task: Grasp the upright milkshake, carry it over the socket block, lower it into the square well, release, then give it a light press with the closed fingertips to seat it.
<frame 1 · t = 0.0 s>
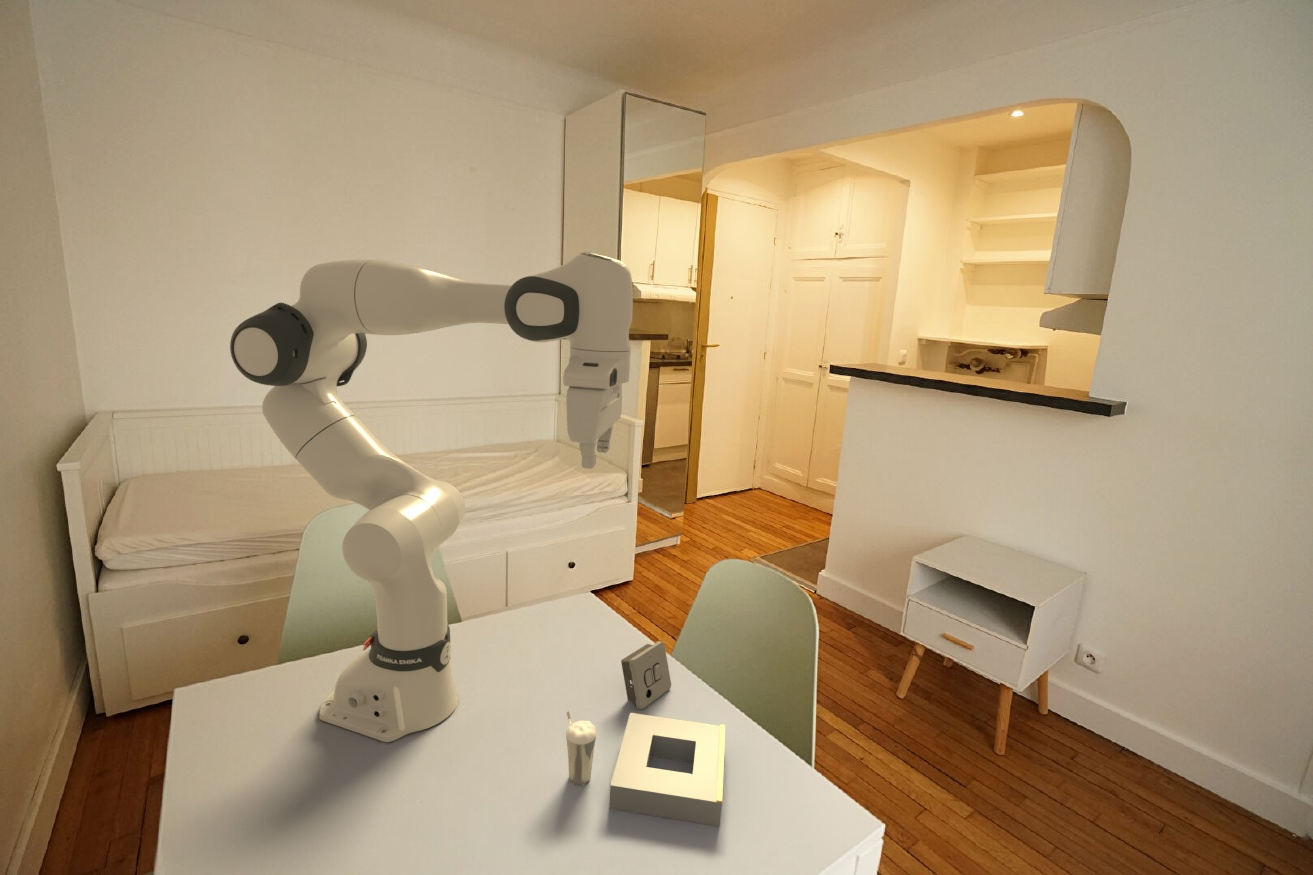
hand: (596, 459, 93), 48 cm above the table, fingers open, 8 cm apart
socket block: (670, 775, 95), on the table
electrical switch: (644, 695, 115), on the table
milkshake: (577, 777, 94), on the table
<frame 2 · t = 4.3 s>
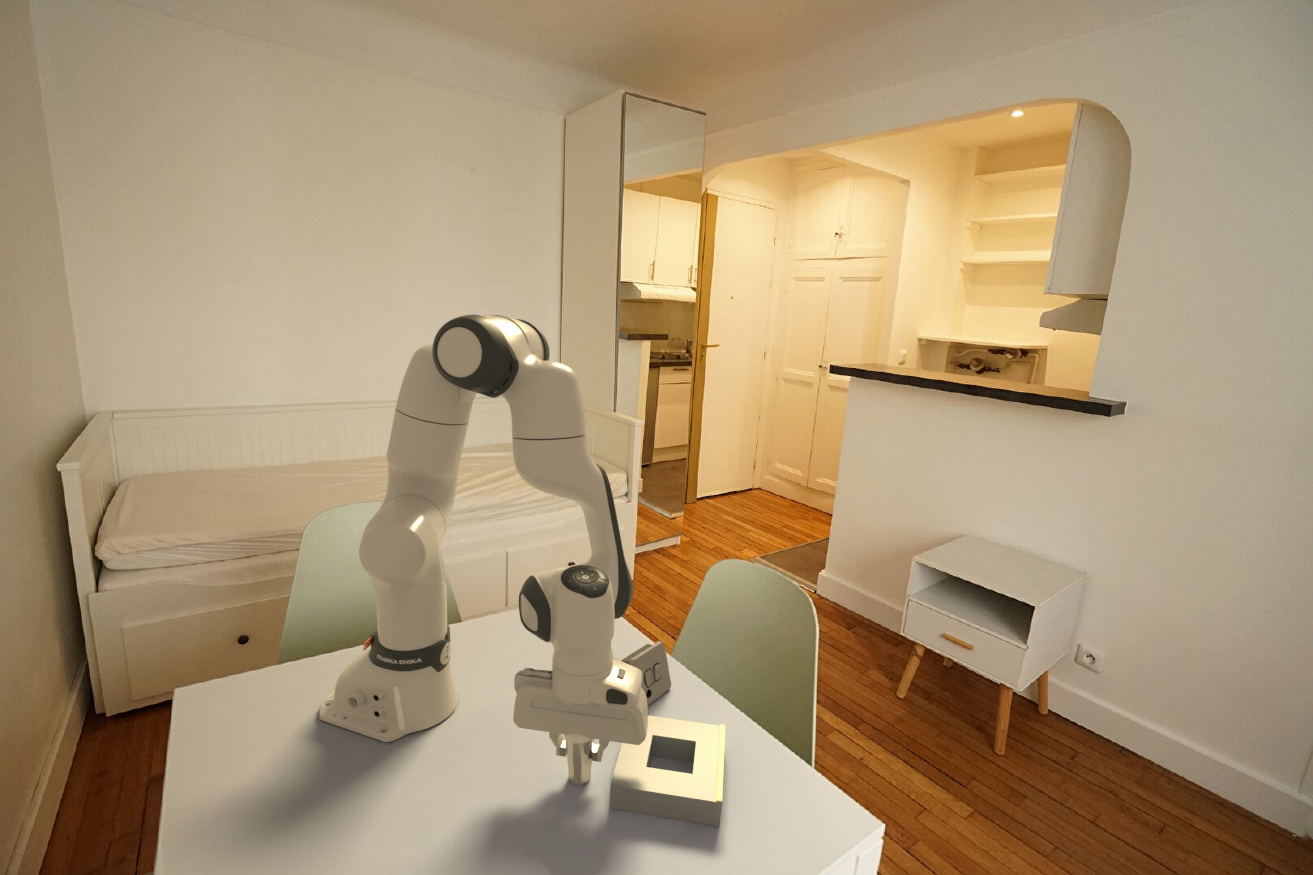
hand: (579, 755, 93), 4 cm above the table, fingers closed on milkshake, 4 cm apart
milkshake: (577, 777, 94), on the table, touching gripper
everything else where it was.
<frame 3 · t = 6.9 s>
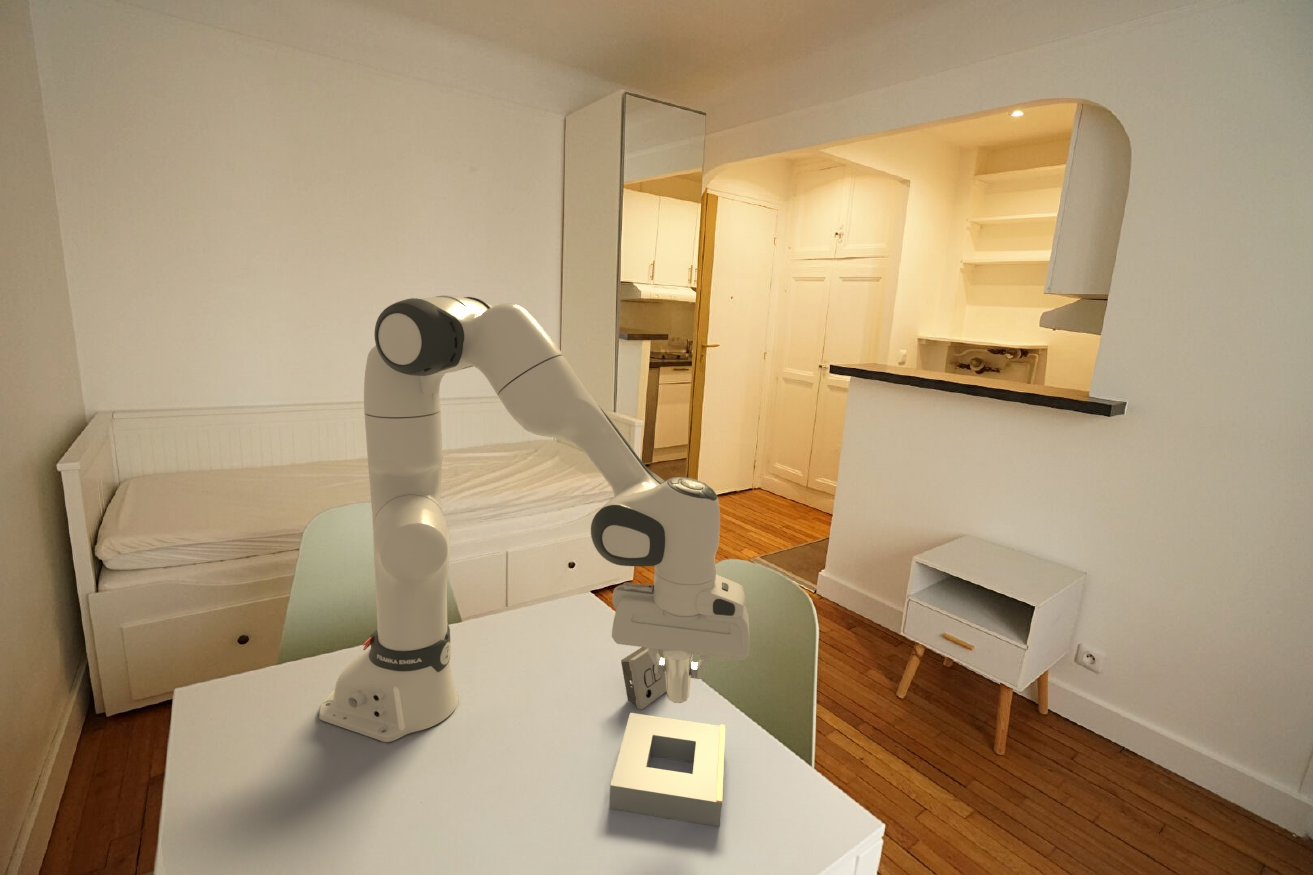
hand: (677, 674, 92), 18 cm above the table, fingers closed on milkshake, 4 cm apart
milkshake: (675, 696, 93), point 14 cm above the table, touching gripper
everything else where it was.
when the fingers open (6 cm above the table, at t = 9.7 s): milkshake drops 2 cm, resting in socket block.
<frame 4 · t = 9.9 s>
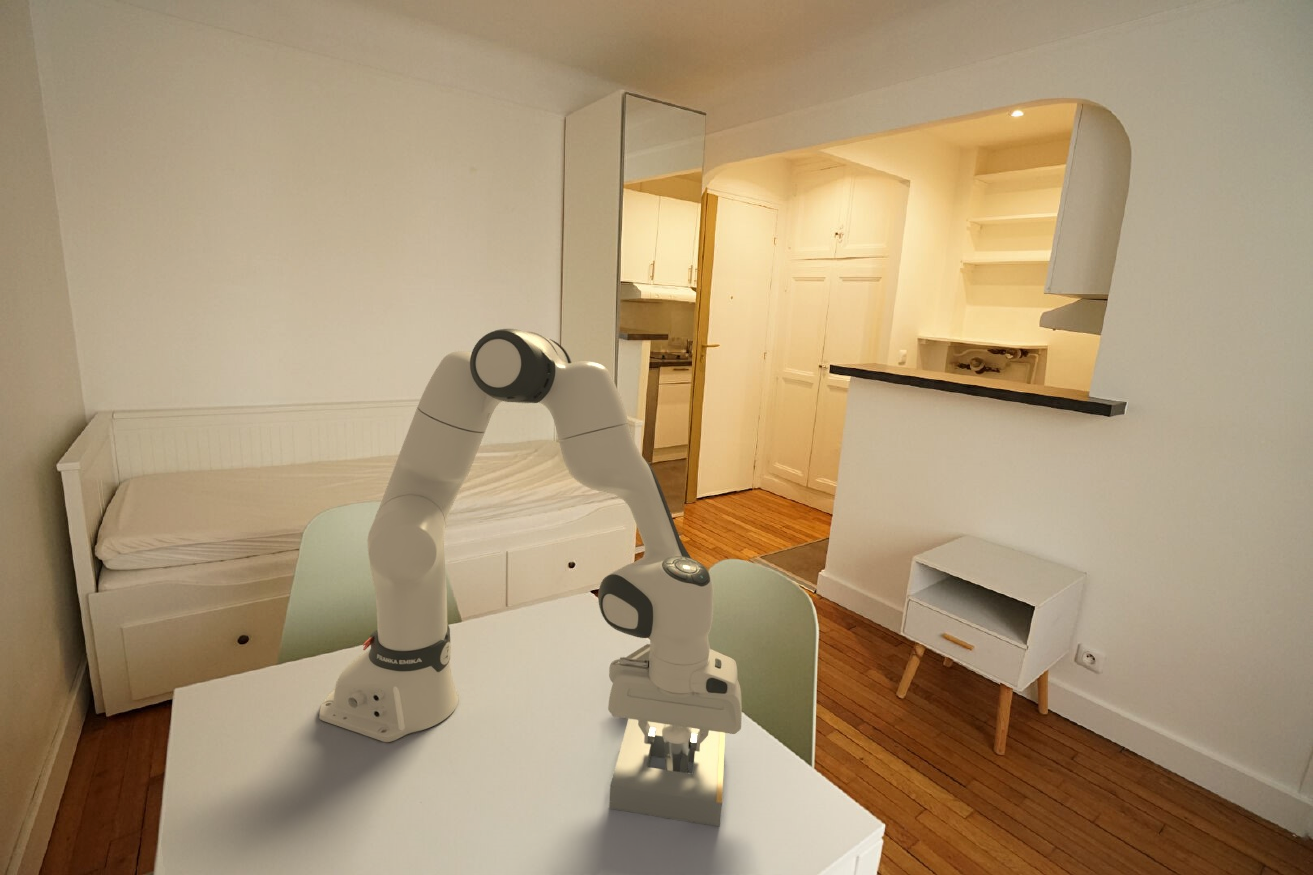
hand: (672, 744, 94), 6 cm above the table, fingers open, 6 cm apart
milkshake: (675, 775, 96), resting in socket block, touching gripper
everything else where it was.
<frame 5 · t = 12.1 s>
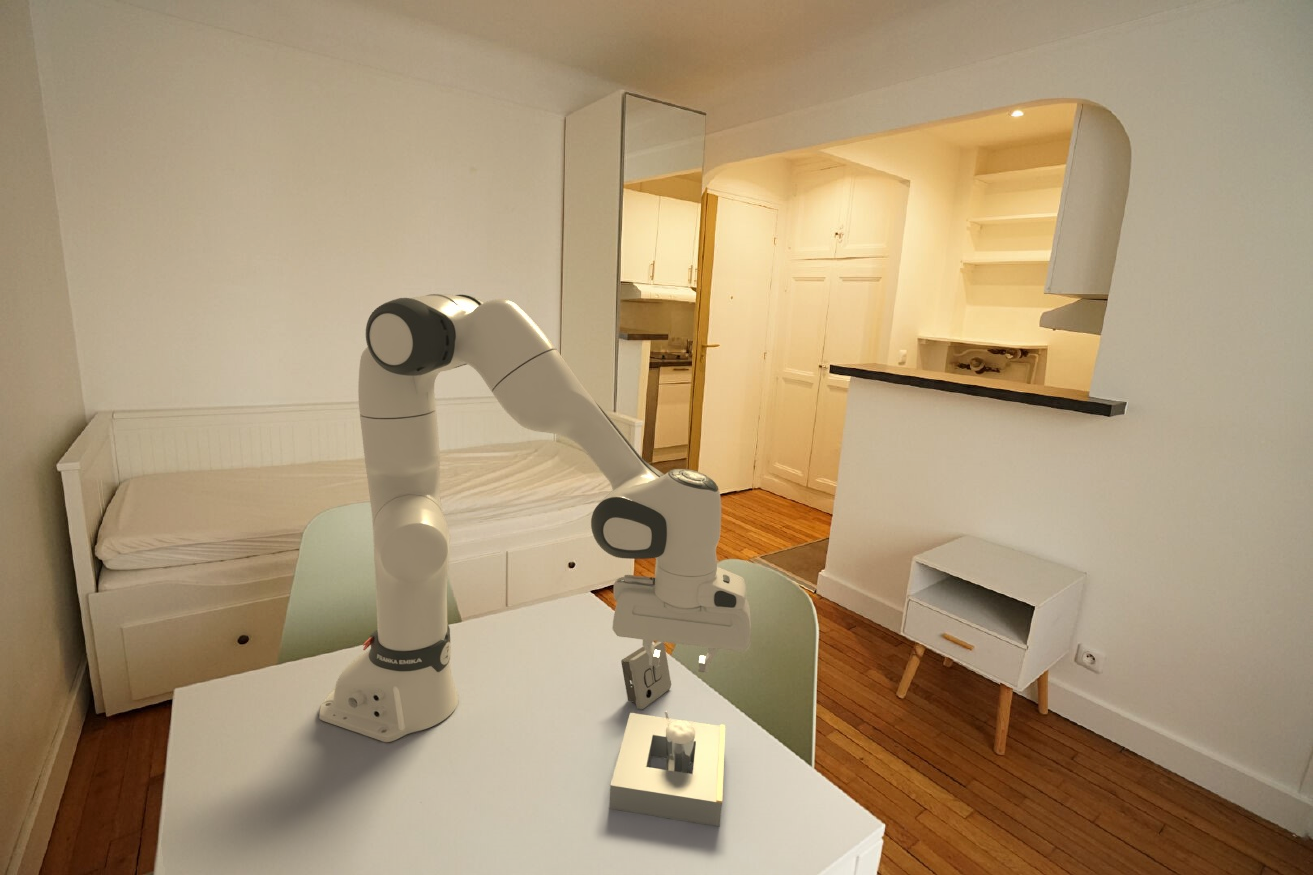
hand: (678, 666, 91), 19 cm above the table, fingers open, 6 cm apart
milkshake: (674, 776, 96), resting in socket block
everything else where it was.
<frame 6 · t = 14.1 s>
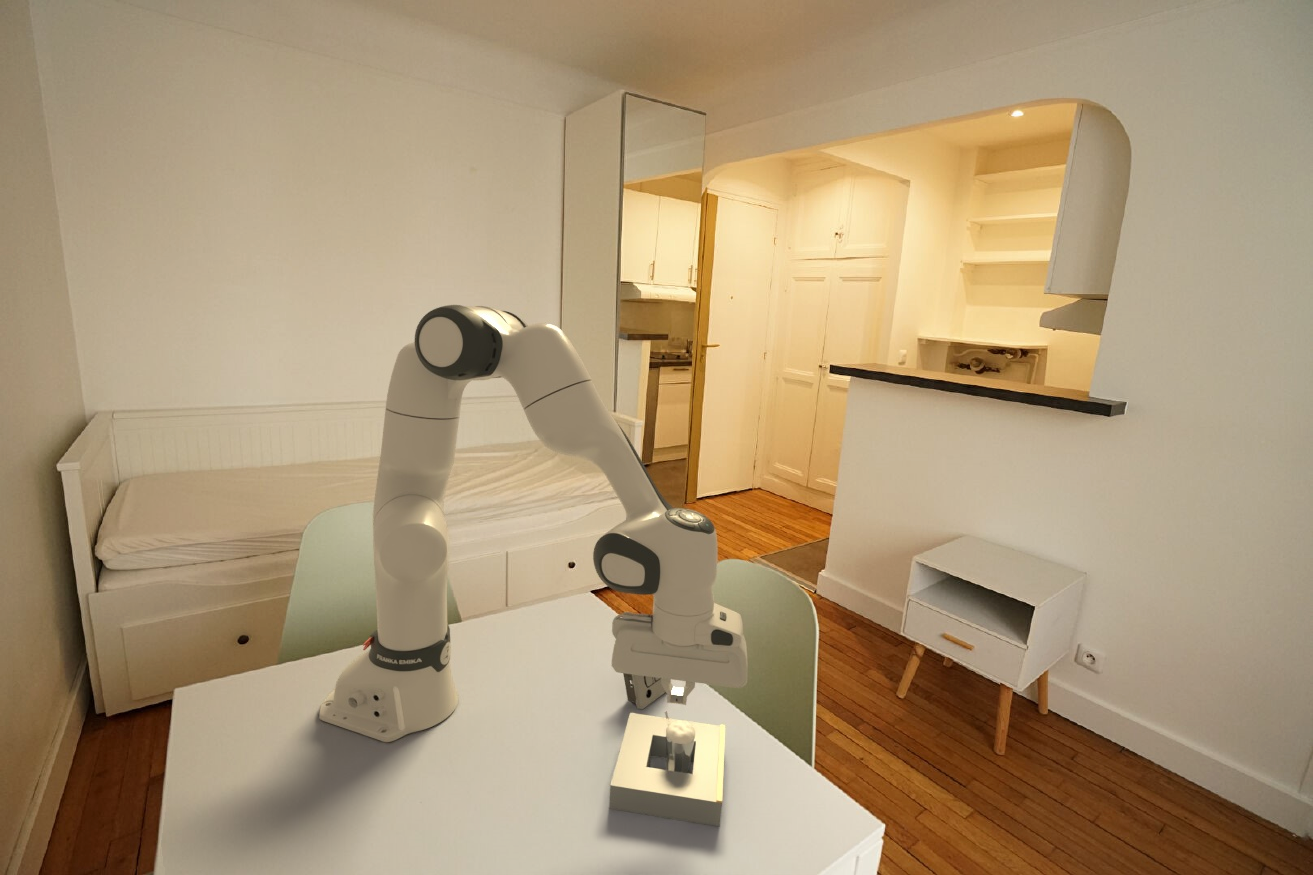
hand: (676, 701, 93), 13 cm above the table, fingers closed
nothing on the table moved.
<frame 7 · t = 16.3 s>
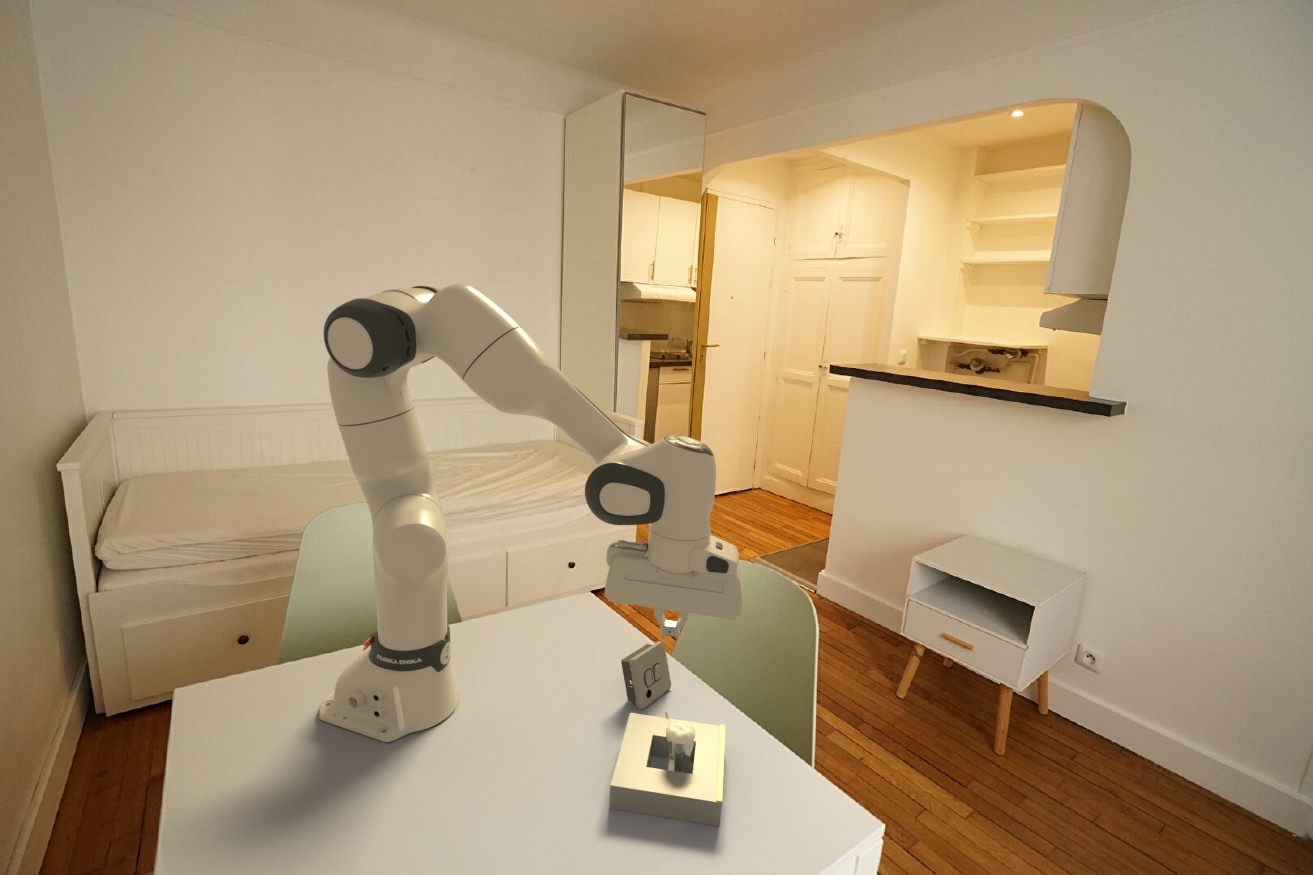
hand: (669, 634, 91), 24 cm above the table, fingers closed
nothing on the table moved.
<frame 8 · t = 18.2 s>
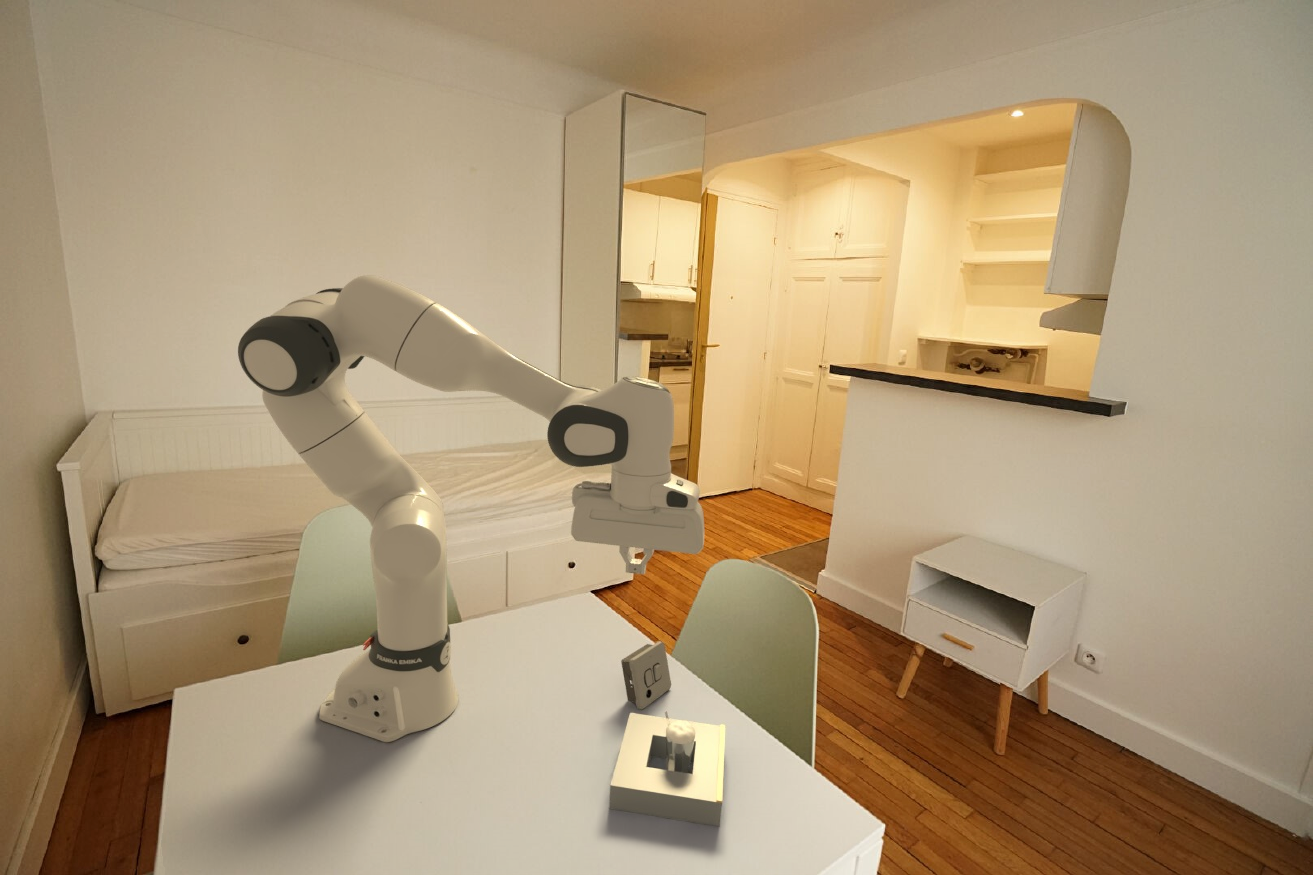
hand: (635, 572, 94), 31 cm above the table, fingers closed
nothing on the table moved.
at the end: milkshake 0.7 cm off-centre on the socket block, point 0.0 cm above the socket block's base; the gripper is holding nothing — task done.
